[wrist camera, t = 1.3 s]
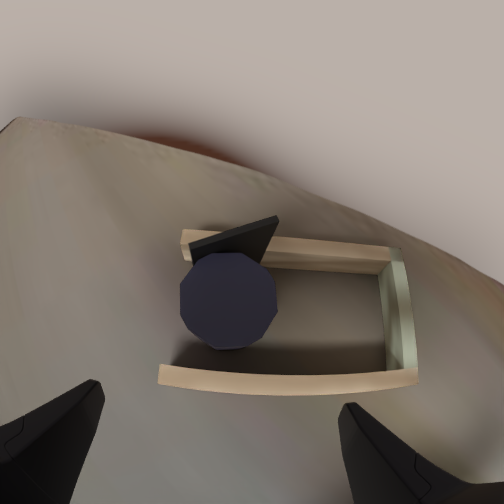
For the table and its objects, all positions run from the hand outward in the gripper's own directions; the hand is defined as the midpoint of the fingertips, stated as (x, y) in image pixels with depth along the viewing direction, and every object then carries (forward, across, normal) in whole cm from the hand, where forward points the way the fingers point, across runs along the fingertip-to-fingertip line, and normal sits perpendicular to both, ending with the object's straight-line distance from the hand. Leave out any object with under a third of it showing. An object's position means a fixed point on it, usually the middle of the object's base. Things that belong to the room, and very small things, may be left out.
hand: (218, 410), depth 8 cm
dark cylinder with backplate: (+14, 0, +4) cm, 15 cm away
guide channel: (+14, -5, +4) cm, 16 cm away
